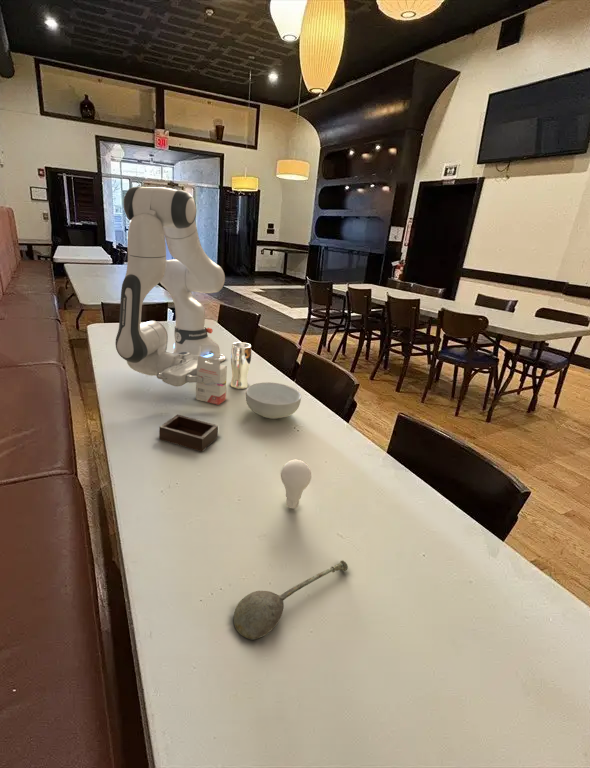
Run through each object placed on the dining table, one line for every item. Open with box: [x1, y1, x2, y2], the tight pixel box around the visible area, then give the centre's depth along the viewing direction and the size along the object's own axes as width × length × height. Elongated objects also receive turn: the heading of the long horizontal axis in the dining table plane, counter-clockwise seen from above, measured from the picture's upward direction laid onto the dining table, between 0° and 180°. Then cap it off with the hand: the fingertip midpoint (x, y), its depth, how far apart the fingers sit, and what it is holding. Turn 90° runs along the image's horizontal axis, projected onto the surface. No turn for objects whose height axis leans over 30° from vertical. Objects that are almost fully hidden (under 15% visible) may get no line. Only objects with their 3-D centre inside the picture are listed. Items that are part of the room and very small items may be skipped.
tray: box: [158, 414, 219, 453], centre depth 108 cm, size 9×13×4 cm
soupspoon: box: [233, 560, 349, 640], centre depth 65 cm, size 22×3×7 cm
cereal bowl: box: [245, 381, 302, 420], centre depth 126 cm, size 17×17×7 cm
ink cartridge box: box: [195, 356, 228, 406], centre depth 130 cm, size 9×5×15 cm, turn 67°
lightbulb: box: [280, 459, 312, 510], centre depth 84 cm, size 6×6×11 cm
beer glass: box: [230, 341, 252, 390], centre depth 143 cm, size 7×7×15 cm
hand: (209, 375), depth 130 cm, fingers open, 8 cm apart
